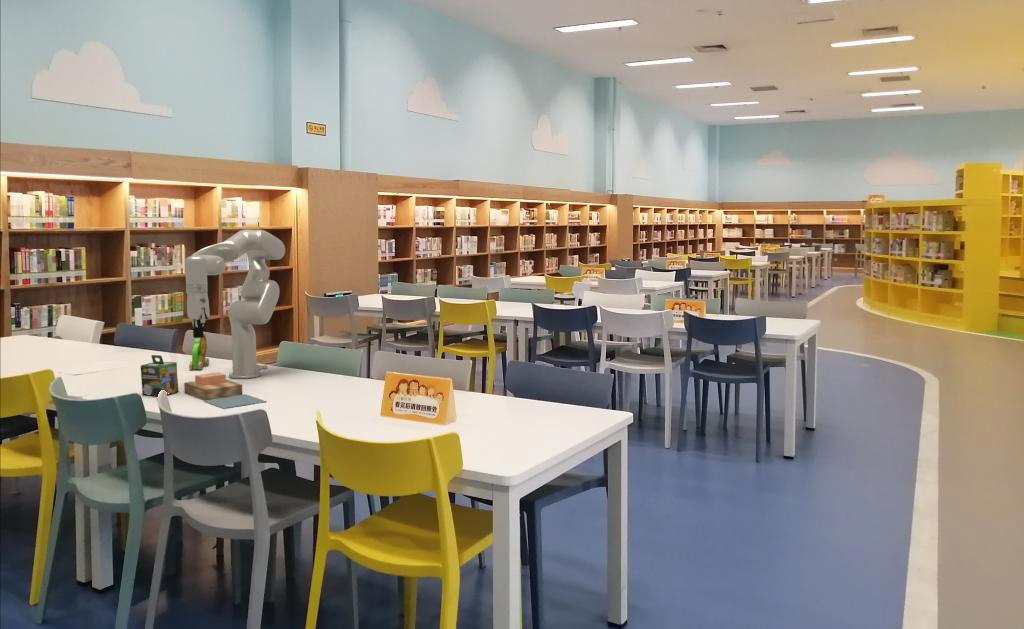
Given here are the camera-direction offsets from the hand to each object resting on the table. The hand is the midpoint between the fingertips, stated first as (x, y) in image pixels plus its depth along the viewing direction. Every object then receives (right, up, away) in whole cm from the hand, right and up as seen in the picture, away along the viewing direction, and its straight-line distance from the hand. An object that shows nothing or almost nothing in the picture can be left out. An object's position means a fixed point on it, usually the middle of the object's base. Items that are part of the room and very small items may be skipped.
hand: (198, 337), depth 302 cm
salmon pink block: (+6, -17, -4) cm, 19 cm away
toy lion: (-19, -15, +49) cm, 54 cm away
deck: (+8, -21, -5) cm, 23 cm away
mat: (+20, -23, -18) cm, 35 cm away
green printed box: (-12, -21, -5) cm, 25 cm away
